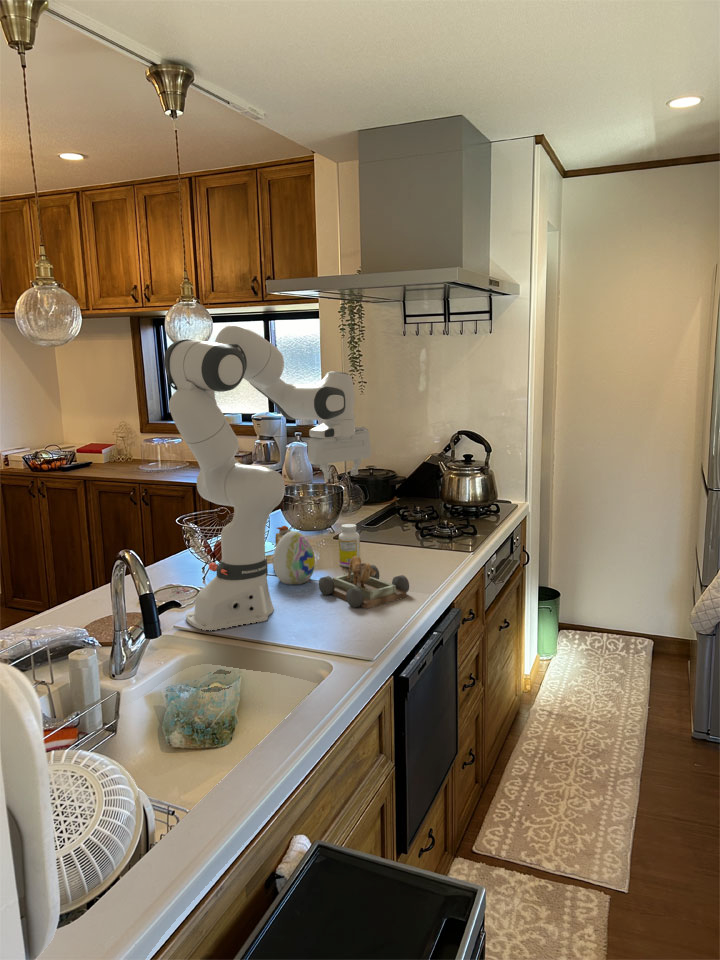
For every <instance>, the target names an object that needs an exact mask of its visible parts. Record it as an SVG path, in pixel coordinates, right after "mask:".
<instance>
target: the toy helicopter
mask: <svg viewBox="0 0 720 960" xmlns="http://www.w3.org/2000/svg"><path fill="white" fill-rule="evenodd" d="M276 529H277V530H279V531H278V532H277V533H275V546H277V544H278V542H279V541H280V539H281V538H282V537H283V536H284V535H285V534H286V533H288V532H290V531H292V530H290V529H289V527H288V526H287V525H282V526H281V527H276ZM273 557H274V555H273ZM272 566H273V565H272ZM273 571H274V572H275V570H274V566H273Z"/></svg>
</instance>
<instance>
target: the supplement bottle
mask: <svg viewBox="0 0 720 960" xmlns="http://www.w3.org/2000/svg"><path fill="white" fill-rule="evenodd" d="M360 538H361V537H360V534H359V532H357V524H355V523H345V524H342V525H341V533H339V534H338V552H339V553H338V556H339V557H338V558H339V565H340V566H341V567H343V568H349V565H350V561H351V559H352V557H354V556H357V557H360V558H361V543H360V542H361V539H360Z"/></svg>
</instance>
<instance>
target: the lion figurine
mask: <svg viewBox="0 0 720 960" xmlns="http://www.w3.org/2000/svg"><path fill="white" fill-rule="evenodd" d="M371 565H372V564H370V563H367V562H364V563H362V558H361V556H360V557H357V556H354V557H352V559H351V561H350V565H349V567H346V569H347V570H349V571H348V573H347V574H348V577H347V579H351V573H353V574H354V585H356V586H357V581H359V582H360V583H361V587H362V588H364V589H365V588H366V587H365V586H364V583H365V582H366V581H368V580H369V579H370V577H372V578H373V577H374V576H375V574H376V571H374V570H373V569H372V568H371Z"/></svg>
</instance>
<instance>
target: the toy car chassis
mask: <svg viewBox="0 0 720 960" xmlns="http://www.w3.org/2000/svg"><path fill="white" fill-rule="evenodd" d="M370 565H371V568H372V569H373V570H374V571H376V574H375V576H374V577H373V578H372V577H370V579H369V580H368V581H366V582H365V583H364V586H365V587H366V588H365V589H364V588H362V587H361V583H360V582H359V581H357V586H356V585H354V574H353V572H351V579H347V577H348V574H349V573H346V574H342V575H339V576H335V577H332V576H329V575H326V576H321V577H320V578H319V579H318V589H319V591H320V593H321V594H322V595H323V596H329V595H332V594H333V596H335V597H337V596H338V598H339V597H340V598H339V599H341V600H344V601H346V600H347V603H348V605H349V607H351V608H353V607H354V608H358V607H360V606H361V608H362V609H365V608H366V609H365V610H368V609H371V608H374V607H373V606H375V607H378V606H381V605H380V604H382V605H385V604H388V603H387V602H389V603H391V602H390V601H392V602H394V601H393V600H395V601H398V600H397V599H399V600H401V599H400V598H402V599H404V598H403V597H406V598H407V593H408V592H409V590H410V583H409V582H410V581H409V579H408V578H407V577H406V576H405V575H403V574H401V575H398V576H394V577H393V578H392V582H391V583H389V582H386V581H384V580H381V579H380V571H379V569H378V567H377V566H376V565H374V564H370ZM384 603H385V604H384ZM377 605H378V606H377ZM370 607H371V608H370ZM367 608H368V609H367Z"/></svg>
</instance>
